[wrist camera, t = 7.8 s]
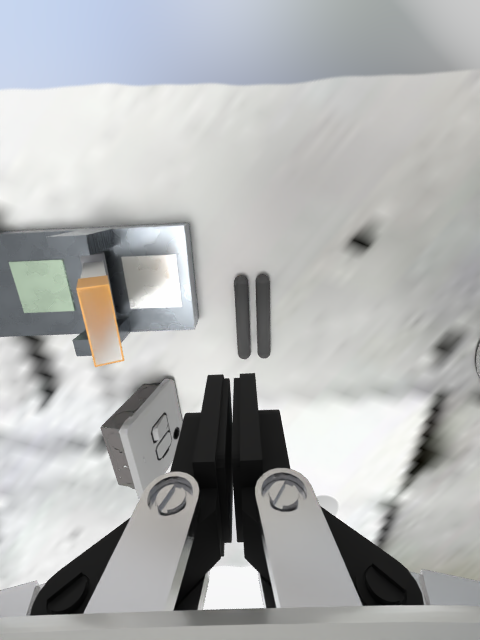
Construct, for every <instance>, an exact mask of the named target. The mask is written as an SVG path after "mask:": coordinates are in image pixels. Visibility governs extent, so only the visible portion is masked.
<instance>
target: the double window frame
mask: <svg viewBox="0 0 480 640" xmlns="http://www.w3.org/2000/svg"><path fill="white" fill-rule="evenodd" d="M97 252H104V254H105V259H106V264H107V269H108V275H109V280H110V285H111V290H112V295H113V300H114V305H115V310H116V315H117V320H116V321H117V326H118V331H119V336H120V341H121V342H122V341H123V340H124V339H125V338H126V336H127V335H128V334H129V333H130V332H137V331H163V330H189V329H195V327H196V324H197V322H198V319H199V317H198V307H197V297H196V287H195V277H194V266H193V256H192V246H191V236H190V226H189V223H175V224H154V225H132V226H111V227H90V228H68V229H47V230H26V231H5V232H0V337H8V336H34V335H60V334H80V335H78V336H77V337H76V338H75V339H74V340H73V343H74V347H75V351H76V355H77V356H92V352H91V348H90V344H89V340H88V336H87V332H86V327H85V323H84V319H83V315H82V311H81V306H80V302H79V298H78V294H77V290H76V287H77V282H78V279H80V278H81V273H82V265H81V260H80V256H87V255H92V254H95V253H97Z"/></svg>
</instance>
